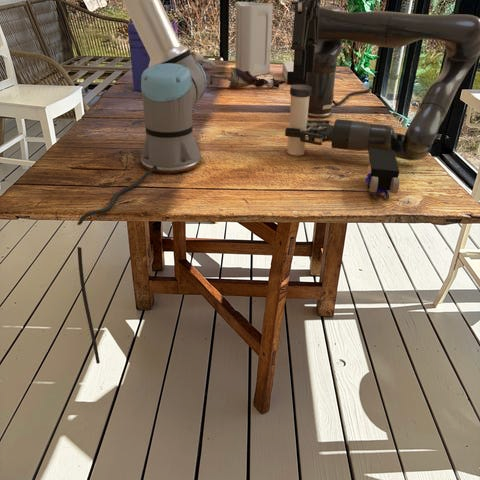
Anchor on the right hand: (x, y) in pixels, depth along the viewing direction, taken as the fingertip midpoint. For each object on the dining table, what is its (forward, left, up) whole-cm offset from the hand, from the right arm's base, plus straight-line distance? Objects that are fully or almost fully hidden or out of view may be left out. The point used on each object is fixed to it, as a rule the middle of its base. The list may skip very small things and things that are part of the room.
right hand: (287, 128), depth 128 cm
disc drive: (-90, -11, -6) cm, 91 cm away
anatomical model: (-70, -58, -6) cm, 91 cm away
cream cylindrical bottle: (0, +3, -6) cm, 7 cm away
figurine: (-65, -30, -6) cm, 72 cm away
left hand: (0, +3, +14) cm, 15 cm away
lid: (0, +3, +11) cm, 11 cm away
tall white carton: (-94, -35, -6) cm, 101 cm away
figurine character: (+18, +26, -6) cm, 32 cm away
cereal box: (-50, -62, -6) cm, 80 cm away
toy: (-93, -69, -6) cm, 115 cm away
